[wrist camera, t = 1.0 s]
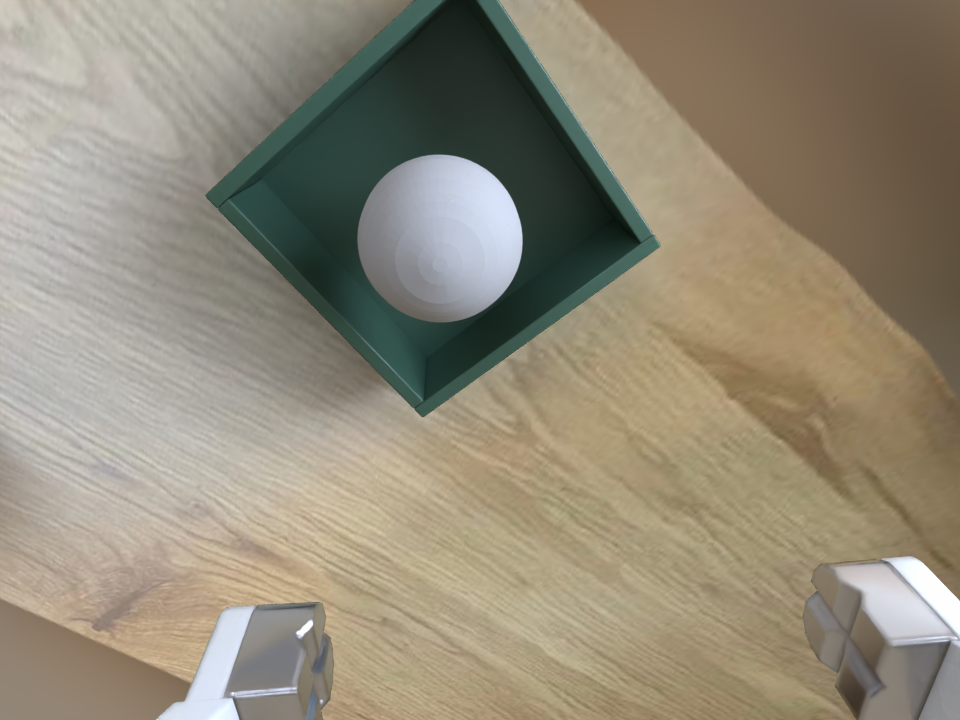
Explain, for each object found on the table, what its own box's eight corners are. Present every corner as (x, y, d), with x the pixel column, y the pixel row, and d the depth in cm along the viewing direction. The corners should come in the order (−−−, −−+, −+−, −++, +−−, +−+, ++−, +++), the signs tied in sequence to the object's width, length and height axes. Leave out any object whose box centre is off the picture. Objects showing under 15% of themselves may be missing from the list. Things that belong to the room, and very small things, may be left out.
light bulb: (508, 251, 28) (537, 338, 19) (390, 265, 28) (365, 357, 19) (497, 126, 26) (525, 158, 17) (369, 140, 26) (328, 180, 17)
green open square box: (244, 174, 27) (203, 196, 22) (462, -28, 24) (466, -49, 19) (426, 367, 31) (422, 418, 27) (627, 217, 28) (661, 246, 24)
